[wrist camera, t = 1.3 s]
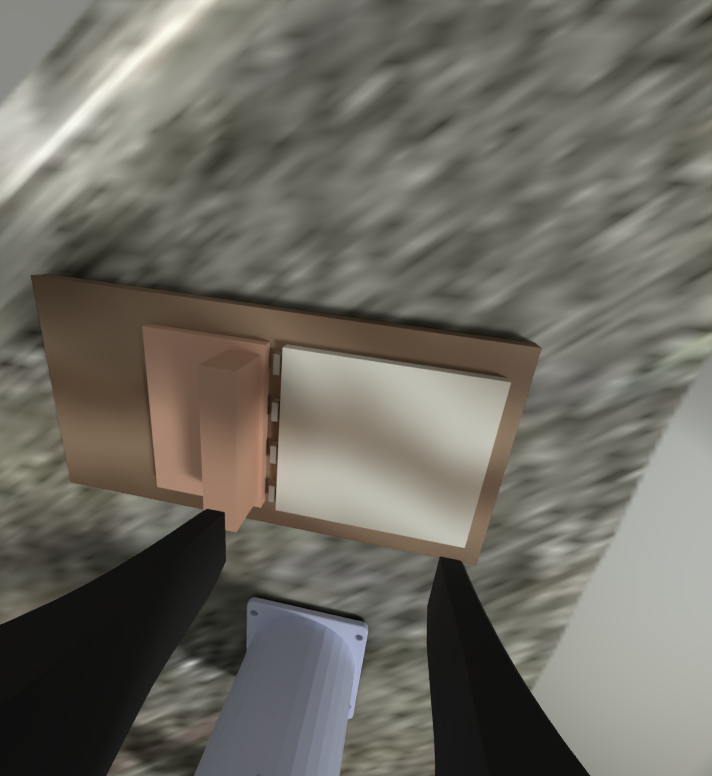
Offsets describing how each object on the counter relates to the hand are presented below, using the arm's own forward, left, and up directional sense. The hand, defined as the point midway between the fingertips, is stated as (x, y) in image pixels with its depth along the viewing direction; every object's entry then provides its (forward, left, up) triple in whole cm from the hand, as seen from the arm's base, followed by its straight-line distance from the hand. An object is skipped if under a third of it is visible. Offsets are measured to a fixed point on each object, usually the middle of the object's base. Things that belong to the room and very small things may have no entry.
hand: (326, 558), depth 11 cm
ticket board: (0, +5, -8) cm, 10 cm away
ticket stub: (0, +8, -7) cm, 11 cm away
